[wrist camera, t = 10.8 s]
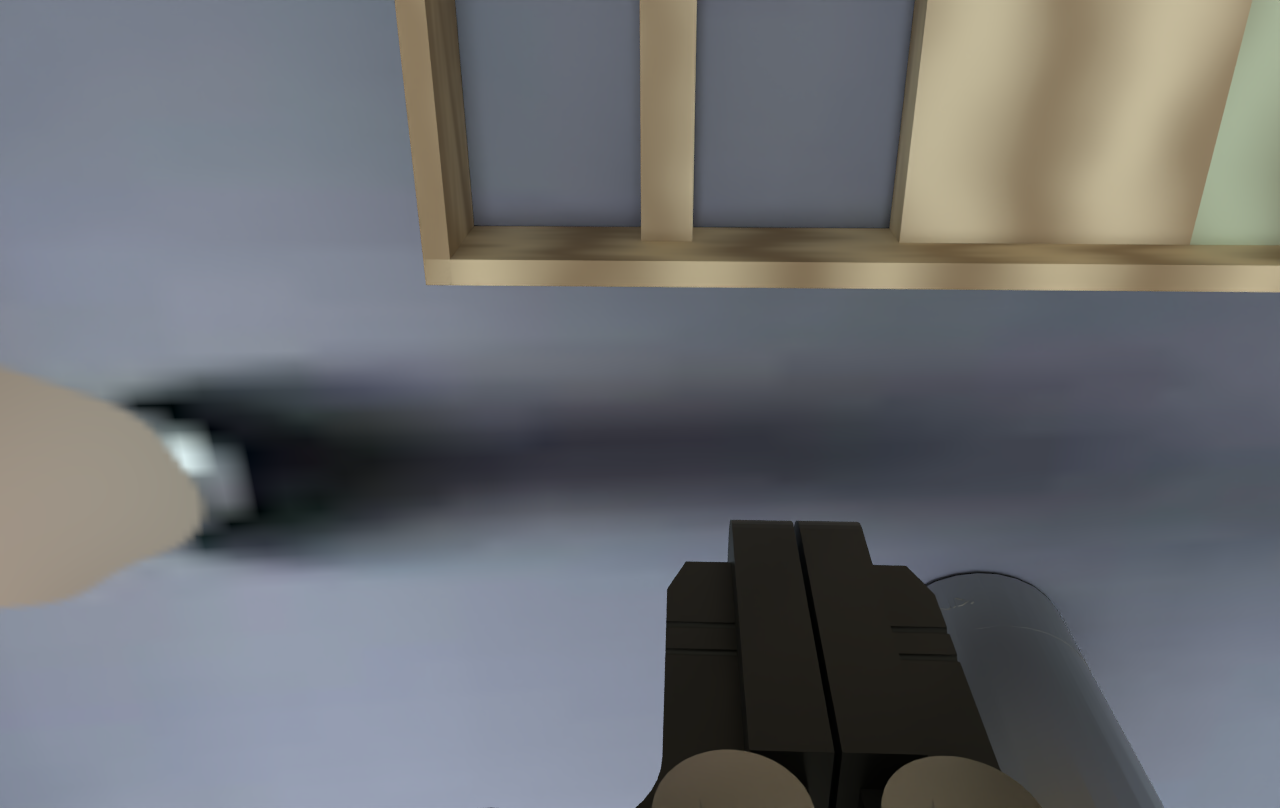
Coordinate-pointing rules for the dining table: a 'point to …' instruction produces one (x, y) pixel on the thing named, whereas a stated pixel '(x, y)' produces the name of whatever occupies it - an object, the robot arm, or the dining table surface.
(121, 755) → the dining table surface
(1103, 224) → the trap lane
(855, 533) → the robot arm
